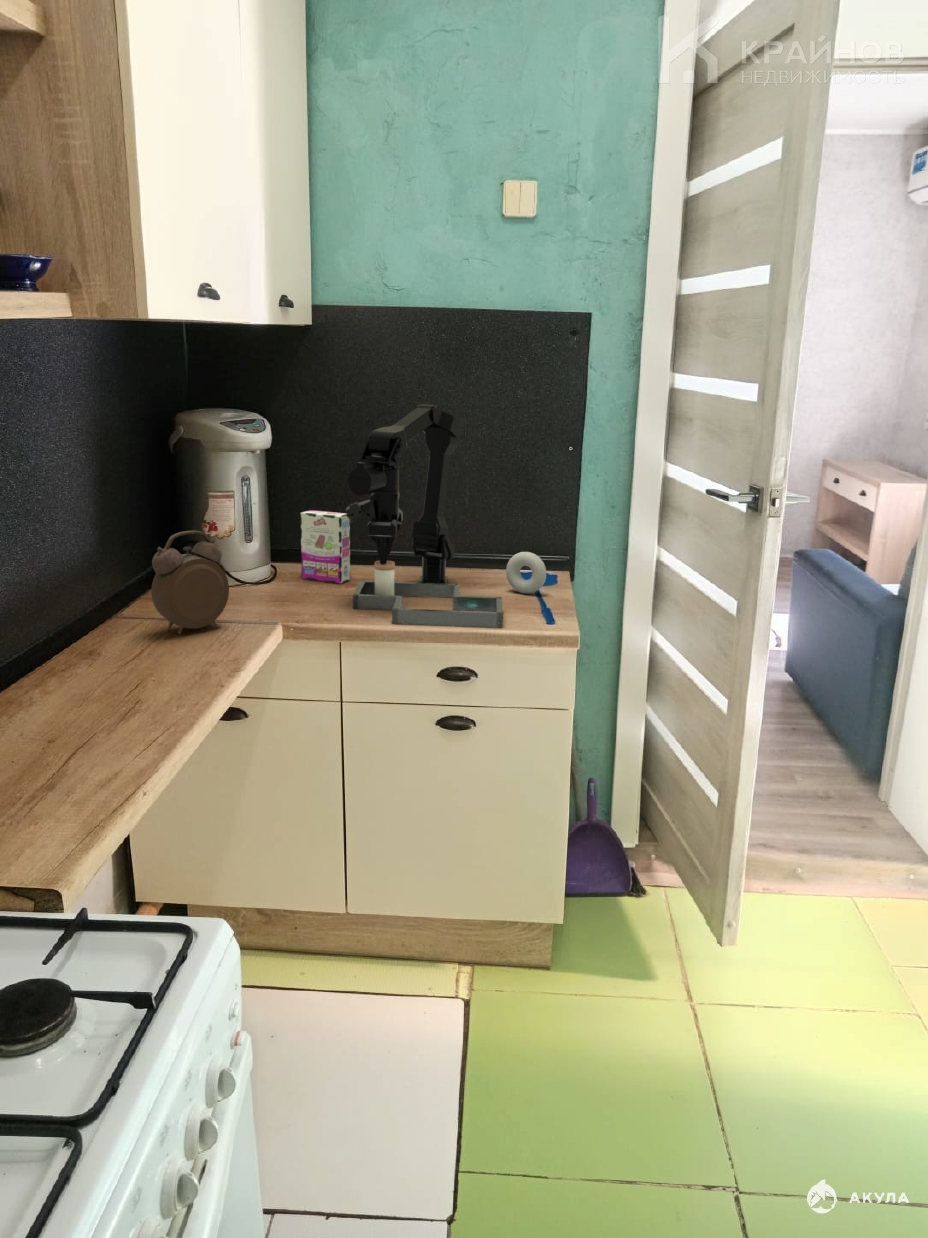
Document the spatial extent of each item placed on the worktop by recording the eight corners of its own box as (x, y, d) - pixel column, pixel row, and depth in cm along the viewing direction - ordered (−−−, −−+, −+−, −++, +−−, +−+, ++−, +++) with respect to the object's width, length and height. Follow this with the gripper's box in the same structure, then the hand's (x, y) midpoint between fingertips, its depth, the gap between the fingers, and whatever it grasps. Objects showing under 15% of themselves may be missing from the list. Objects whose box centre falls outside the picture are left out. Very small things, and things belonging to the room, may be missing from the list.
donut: (547, 594, 231) (549, 553, 228) (542, 598, 228) (544, 555, 225) (508, 588, 235) (510, 547, 232) (502, 591, 232) (504, 550, 229)
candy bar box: (351, 580, 238) (351, 513, 234) (341, 584, 234) (341, 516, 229) (311, 574, 242) (310, 508, 238) (300, 579, 238) (299, 511, 233)
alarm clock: (213, 619, 203) (209, 523, 198) (232, 627, 199) (229, 529, 193) (148, 632, 194) (142, 532, 188) (166, 641, 189) (160, 538, 183)
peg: (375, 598, 223) (375, 560, 220) (395, 599, 223) (395, 560, 220) (373, 604, 218) (373, 564, 216) (393, 604, 218) (393, 565, 216)
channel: (360, 592, 227) (360, 580, 226) (500, 598, 227) (501, 585, 226) (346, 621, 205) (346, 608, 204) (502, 627, 204) (502, 613, 203)
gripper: (354, 481, 222) (354, 549, 227) (342, 495, 205) (342, 568, 209) (403, 483, 222) (402, 550, 227) (395, 497, 204) (395, 570, 209)
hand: (385, 559), depth 218 cm, fingers open, 9 cm apart
